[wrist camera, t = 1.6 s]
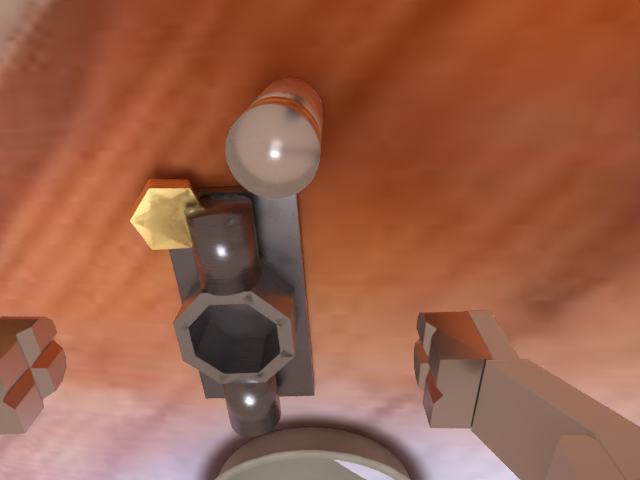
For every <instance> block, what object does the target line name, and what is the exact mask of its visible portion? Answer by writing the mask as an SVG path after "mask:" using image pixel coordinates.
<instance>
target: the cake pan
mask: <svg viewBox="0 0 640 480" xmlns="http://www.w3.org/2000/svg"><path fill="white" fill-rule="evenodd" d="M332 459H335V460H342V461H348V462H352V463H356V464H360V465H363V466H367V467H370V468H372V469H375V470H378V471H380V472H382V473H384V474H386V475H388V476H390V477H392V478H394V479H395V480H410V477H409V475H408V473H407V471H406V469H405V468H404V466H403V464H402V463H401V462H400V461H399V460H398V458H397V457H396V456H395V455H394V454H392V453H391V452H390V451H389V450H388V449H386V448H385V447H383V446H381V445H380V444H378V443H376V442H374V441H372V440H370V439H368V438H366V437H363V436H361V435H358V434H355V433H351V432H348V431H343V430H338V429H332V428H322V427H300V428H291V429H284V430H279V431H275V432H271V433H268V434H265V435H262V436H260V437H257V438H255V439H253V440H251V441H249V442H247V443H246V444H244V445H243V446H241V447H240V448H238V449H237V450H236V451H235V452H234V453H233V454H232V455H231V456H230V457H229V458H228V459H227V461H226V462H225V463H224V465H223V467H222V469H221V471H220V473H219V475H218V477H216V478H215V479H214V480H366V479H364V478H362V477H360V476H359V475H357V474H355V473H353V472H352V471H350V470H349V469H347V468H345V467H344V466H342V465H340V464H339V463H337V462H336V461H334V460H332Z"/></svg>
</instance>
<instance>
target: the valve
mask: <svg viewBox="0 0 640 480" xmlns="http://www.w3.org/2000/svg"><path fill="white" fill-rule="evenodd" d="M322 122H323V106H322V102H321V100H320V97H319V95H318V94H317V92H316V91H315V90H314V88H313V87H312V86H310V85H309V84H308V83H306V82H305V81H302V80H300V79H297V78H282V79H278V80H276V81H274V82H272V83H271V84H269V85H268V86H267V87H266V88H265V89H264V90H263V92H262V93H261V94H260V95H259V96H258V97H257V98H256V99H255V100H254V101H253V102H252V104H251V105H250V106H249V107H248V108H247V109H246V110H245V111H244V112H243V113H242V115H241V116H240V117H239V118H238V119H237V120H236V121H235V122H234V124H233V125H232V127H231V128H230V130H229V133H228V135H227V139H226V144H225V154H226V160H227V164H228V166H229V169H230V171H231V173H232V175H233V176H234V178H235V179H236V180H237V181H238V182H239V184H241V185H242V186H243V187H244V188H245V189H247V190H248V191H250V192H252V193H253V194H256V195H258V196H261V197H265V198H271V199H279V198H286V197H290V196H292V195H295V194H297V193H299V192H300V191H302V190H303V189H304V188H305V187H307V186H308V185H309V183H310V182H311V181H312V180H313V178H314V176H315V175H316V172H317V170H318V167H319V162H320V152H321V137H322Z"/></svg>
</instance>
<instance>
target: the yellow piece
mask: <svg viewBox="0 0 640 480" xmlns="http://www.w3.org/2000/svg"><path fill="white" fill-rule="evenodd" d="M199 200H200V199H199V197H198V196H197V194H196V192H195V190H194V188H193V187H192V185H191V184H190V182H189V180H188V179H149V180H148V182H147V183H146V185H145V187H144V188H143V190H142V192H141V193H140V195H139V197H138V198H137V200H136V202H135V203H134V205H133V207H132V209H131V214H130V221H131V223H132V224H133V225H134V227H135V228H136V229H137V231H138V232H139V233H140V235H141V236H142V237H143V238H144V240H145V241H146V242H147V244H148V245H149V246H150V248H151V249H152V250H158V249H180V248H191V247H192V246H191V241H190V237H189V232H188V228H187V223H186V219H185V214H184V210H185V208H186V207H187V206H188V205H193V204H198V203H199Z"/></svg>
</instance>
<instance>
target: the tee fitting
mask: <svg viewBox="0 0 640 480" xmlns="http://www.w3.org/2000/svg"><path fill="white" fill-rule="evenodd" d="M194 190H195V192H196V194H197V196H198V197H199V199H200V200H199V203H198V204H193V205H188V206H187V207H186V208H185V210H184V214H185V219H186V223H187V228H188V232H189V237H190V241H191V246H192V247H191V248H180V249H169V252H170V256H171V260H172V264H173V268H174V272H175V276H176V280H177V284H178V288H179V292H180V296H181V300H182V304H183V305H182V307H181V309H180V311H179V313H178V315H177V317H176V319H175V321H174V323H173V324H174V328H175V332H176V336H177V339H178V343H179V347H180V351H181V354H182V358H183V361H185V362H186V363H188V364H190V365H191V366H193V367H195V368H196V369H198V370H199V373H200V377H201V381H202V385H203V389H204V393H205V397H206V398H225V400H226V405H227V409H228V414H229V418H230V423H231V426H232V428H233V429H234V431H236V432H237V433H238V434H240V435H242V436H247V437H256V436H260V435H263V434H265V433H267V432H269V431H270V430H272V429H273V428H274V427H275V426H276V425H277V423H278V422H279V420H280V417H281V407H280V400H279V396H313V395H314V389H315V386H314V375H313V364H312V353H311V341H310V330H309V319H308V308H307V296H306V285H305V274H304V263H303V251H302V240H301V229H300V218H299V206H298V195H297V194H295V195H292V196H290V197H286V198H279V199H271V198H265V197H261V196H258V195H256V194H253V193H252V192H250V191H248V190H247V189H245V188H244V187H243V186H236V187H216V188H196V189H194Z"/></svg>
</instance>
